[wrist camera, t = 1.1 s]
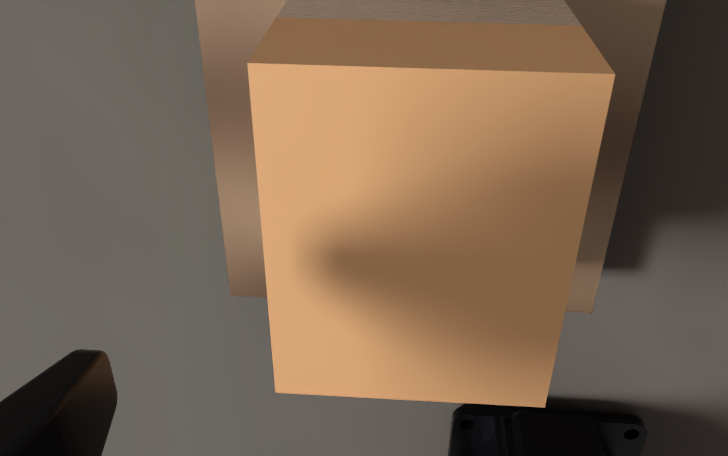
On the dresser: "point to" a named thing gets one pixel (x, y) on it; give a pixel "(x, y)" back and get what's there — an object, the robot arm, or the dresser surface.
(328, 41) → the cover
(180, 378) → the dresser surface
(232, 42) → the walnut stand
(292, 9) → the housing base
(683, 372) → the dresser surface
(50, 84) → the dresser surface
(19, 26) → the dresser surface
